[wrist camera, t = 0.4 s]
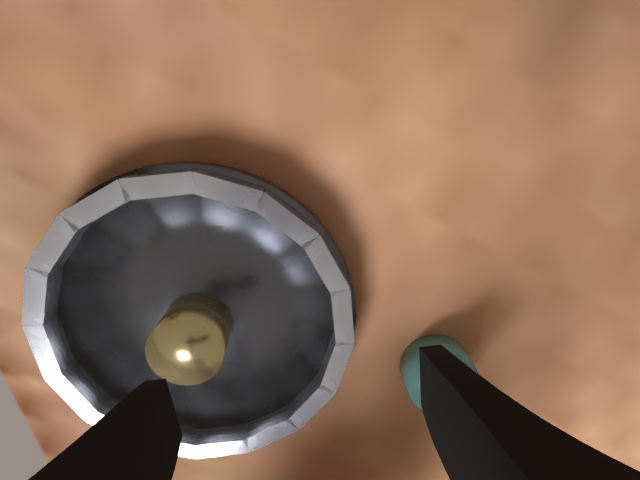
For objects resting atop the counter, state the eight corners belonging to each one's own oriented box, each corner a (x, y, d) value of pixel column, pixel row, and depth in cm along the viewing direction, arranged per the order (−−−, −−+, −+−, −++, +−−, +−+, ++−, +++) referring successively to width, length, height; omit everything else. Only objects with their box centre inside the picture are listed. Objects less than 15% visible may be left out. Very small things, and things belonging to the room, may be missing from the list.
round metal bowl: (362, 417, 24) (372, 467, 20) (96, 447, 23) (61, 503, 20) (341, 144, 18) (350, 151, 15) (-6, 181, 18) (-78, 196, 15)
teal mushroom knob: (463, 385, 23) (504, 454, 19) (400, 392, 23) (425, 463, 19) (464, 330, 22) (509, 389, 17) (398, 338, 22) (425, 399, 17)
